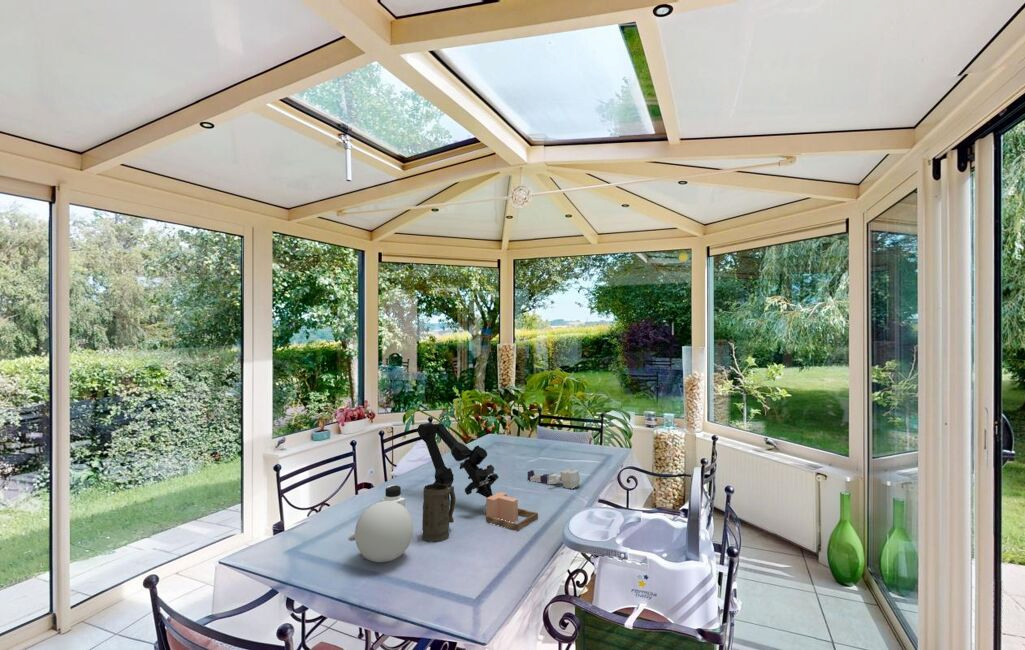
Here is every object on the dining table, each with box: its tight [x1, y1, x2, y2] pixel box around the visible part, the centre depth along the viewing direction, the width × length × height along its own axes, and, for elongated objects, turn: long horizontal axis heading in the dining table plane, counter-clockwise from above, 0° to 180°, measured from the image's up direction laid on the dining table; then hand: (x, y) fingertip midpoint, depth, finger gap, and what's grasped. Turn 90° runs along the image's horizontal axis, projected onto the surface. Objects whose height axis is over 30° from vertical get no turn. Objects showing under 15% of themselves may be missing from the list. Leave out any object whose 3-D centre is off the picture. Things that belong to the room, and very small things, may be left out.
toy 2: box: [347, 501, 414, 563], centre depth 164 cm, size 20×20×20 cm
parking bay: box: [485, 507, 539, 532], centre depth 199 cm, size 16×16×2 cm
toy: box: [527, 468, 580, 490], centre depth 251 cm, size 21×9×30 cm
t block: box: [485, 491, 519, 523], centre depth 202 cm, size 12×10×9 cm
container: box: [380, 484, 406, 508], centre depth 204 cm, size 8×8×13 cm
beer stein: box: [421, 483, 457, 542], centre depth 185 cm, size 15×11×20 cm
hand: (492, 499), depth 205 cm, fingers closed
